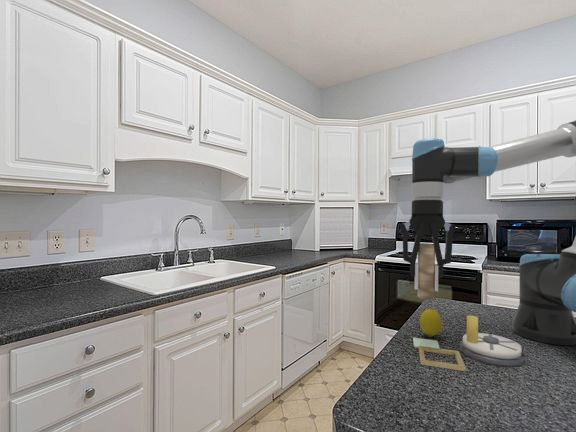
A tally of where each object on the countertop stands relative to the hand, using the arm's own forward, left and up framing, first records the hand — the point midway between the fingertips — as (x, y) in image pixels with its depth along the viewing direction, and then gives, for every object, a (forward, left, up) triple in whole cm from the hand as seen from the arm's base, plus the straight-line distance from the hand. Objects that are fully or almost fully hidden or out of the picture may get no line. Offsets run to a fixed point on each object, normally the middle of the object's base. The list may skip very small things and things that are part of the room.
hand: (425, 289), depth 82 cm
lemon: (-2, -6, -15) cm, 16 cm away
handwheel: (-15, 0, -13) cm, 20 cm away
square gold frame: (-3, +8, -14) cm, 17 cm away
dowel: (0, 0, -2) cm, 2 cm away
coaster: (0, 0, -14) cm, 14 cm away
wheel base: (-15, 0, -14) cm, 21 cm away
